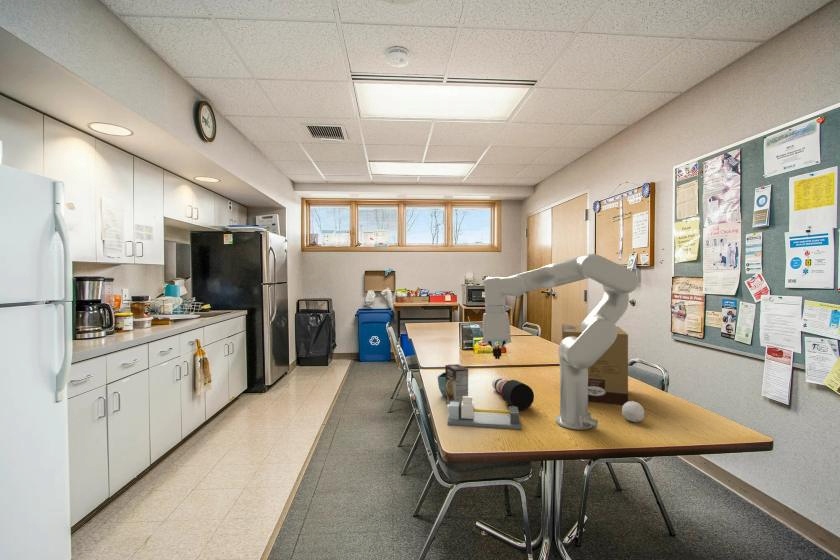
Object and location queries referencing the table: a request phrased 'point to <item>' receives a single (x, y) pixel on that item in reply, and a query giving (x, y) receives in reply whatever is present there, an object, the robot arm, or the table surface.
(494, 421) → the board
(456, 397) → the coffee box
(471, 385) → the table surface
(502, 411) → the fibre cord
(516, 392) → the black cylinder
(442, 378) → the flower pot
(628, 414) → the white textured egg
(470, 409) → the sleeve
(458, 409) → the connector
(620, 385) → the cardboard box
